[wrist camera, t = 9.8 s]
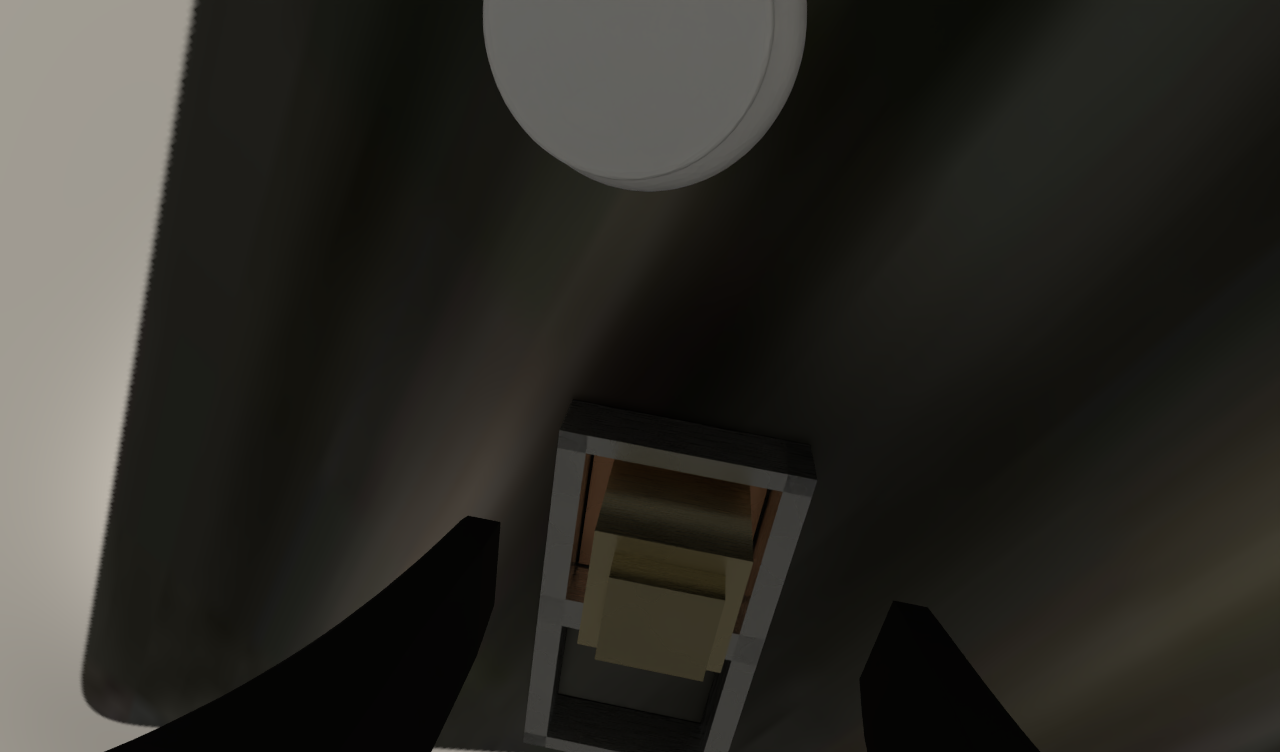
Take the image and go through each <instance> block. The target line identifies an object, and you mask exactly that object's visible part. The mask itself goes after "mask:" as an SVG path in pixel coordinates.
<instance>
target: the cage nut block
mask: <svg viewBox="0 0 1280 752" xmlns="http://www.w3.org/2000/svg"><path fill="white" fill-rule="evenodd" d="M752 565H753V541H752V518H751V496H750V485H746V484H740V483H735V482H730V481H725V480H720V479H715V478H710V477H705V476H699V475H694V474H689V473H684V472H679V471H674V470H669V469H664V468H658V467H653V466H648V465H643V464H638V463H633V462H628V461H623V460H617V459H614V462H613V466H612V470H611V473H610V477H609V481H608V484H607V488H606V492H605V495H604V499H603V503H602V506H601V510H600V513H599V517H598V521H597V524H596V528H595V533H594V539H593V545H592V552H591V558H590V565H589V571H588V578H587V584H586V591H585V597H584V604H583V610H582V617H581V623H580V630H579V636H578V643H577V644H581V645H586V646H591V647H596V648H597V649H596V655H595V659H596V660H600V661H605V662H610V663H615V664H620V665H625V666H630V667H635V668H639V669H644V670H649V671H654V672H659V673H664V674H669V675H673V676H678V677H683V678H688V679H693V680H698V681H703V679H704V675H705V671H706V670H708V671H713V672H718V673H721V670H722V667H723V663H724V660H725V657H726V653H727V650H728V646H729V643H730V640H731V636H732V633H733V630H734V626H735V623H736V619H737V616H738V613H739V609H740V606H741V602H742V599H743V596H744V592H745V589H746V586H747V582H748V579H749V575H750V572H751V569H752Z"/></svg>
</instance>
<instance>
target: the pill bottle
mask: <svg viewBox="0 0 1280 752" xmlns="http://www.w3.org/2000/svg"><path fill="white" fill-rule="evenodd" d="M806 27H807V1H806V0H484V3H483V31H484V38H485V46H486V51H487V56H488V60H489V63H490V67H491V70H492V73H493V76H494V79H495V82H496V85H497V87H498V89H499V91H500V93H501V95H502V97H503V99H504V101H505V103H506V105H507V107H508V108H509V110H510V111H511V113H512V114H513V116H514V118H515V119H516V120H517V122H518V123H519V124H520V125H521V126H522V128H523V129H524V130H525V131H526V132H527V134H528V135H529V136H530V137H531V138H532V139H533V140H534V141H535V142H536V143H537V144H538V145H540V146H541V147H542V148H543V149H544V150H546V151H547V152H548V153H550V154H551V155H552V156H554V157H555V158H557V159H558V160H560V161H562V162H563V163H565V164H567V165H568V166H569V167H571V168H572V169H574V170H576V171H577V172H579V173H581V174H583V175H585V176H587V177H589V178H590V179H593V180H595V181H598V182H600V183H603V184H606V185H609V186H612V187H616V188H621V189H626V190H631V191H645V192H654V191H665V190H672V189H677V188H682V187H686V186H690V185H693V184H695V183H698V182H701V181H703V180H706V179H708V178H710V177H712V176H714V175H716V174H718V173H720V172H721V171H723V170H725V169H726V168H728V167H729V166H731V165H732V164H734V163H735V162H736V161H738V160H739V159H740V158H741V157H743V156H744V155H745V154H746V153H748V152H749V151H750V150H751V149H752V147H753V146H754V145H755V144H756V143H757V142H758V141H759V140H760V139H761V138H762V137H763V136H764V135H765V133H766V132H767V131H768V129H769V128H770V127H771V125H772V124H773V122H774V121H775V120H776V118H777V117H778V115H779V113H780V111H781V110H782V108H783V106H784V104H785V103H786V101H787V98H788V96H789V94H790V92H791V90H792V88H793V85H794V82H795V79H796V76H797V74H798V70H799V67H800V63H801V60H802V55H803V50H804V44H805V36H806Z"/></svg>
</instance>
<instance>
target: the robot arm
mask: <svg viewBox="0 0 1280 752" xmlns="http://www.w3.org/2000/svg"><path fill="white" fill-rule="evenodd" d="M499 534H500V522H497V521H492V520H487V519H482V518H477V517H472V516H467V517H465V518H464V519H462V520H461V521H460V522H459V523H458V524H457V525H456V526H455V527H454V528H453V529H452V530H450V531H449V532H448V533H447V534H446V535H445V536H444V537H443V538H442V539H441V540H440V541H439V542H438V543H437V544H436V545H435V546H433V547H432V548H431V549H430V550H429V551H428V552H427V553H426V554H425V555H423V556H422V557H421V558H420V559H419V560H418V561H417V562H416V563H415V564H413V565H412V566H411V567H410V568H409V569H407V570H406V571H405V572H404V573H403V574H402V575H400V576H399V577H398V578H397V579H396V580H394V581H393V582H392V583H391V584H390V585H389V586H387V587H386V588H385V589H384V590H382V591H381V592H380V593H379V594H377V595H376V596H375V597H374V598H372V599H371V600H370V601H368V602H367V603H366V604H364V605H363V606H362V607H360V608H359V609H358V610H357V611H355V612H354V613H353V614H351V615H350V616H349V617H347V618H346V619H345V620H343V621H342V622H341V623H339V624H338V625H336V626H335V627H334V628H332V629H331V630H329V631H328V632H327V633H325V634H324V635H322V636H321V637H319V638H318V639H316V640H315V641H313V642H312V643H310V644H309V645H307V646H306V647H304V648H303V649H301V650H300V651H298V652H297V653H295V654H293V655H292V656H290V657H289V658H287V659H286V660H284V661H282V662H281V663H279V664H277V665H276V666H274V667H272V668H271V669H269V670H267V671H265V672H264V673H262V674H260V675H259V676H257V677H255V678H254V679H252V680H250V681H249V682H247V683H245V684H243V685H242V686H240V687H238V688H236V689H234V690H233V691H231V692H229V693H227V694H225V695H223V696H222V697H220V698H218V699H216V700H214V701H212V702H210V703H208V704H206V705H204V706H202V707H200V708H198V709H196V710H194V711H192V712H190V713H188V714H186V715H184V716H182V717H180V718H178V719H176V720H174V721H172V722H170V723H168V724H166V725H164V726H162V727H160V728H158V729H156V730H153V731H151V732H149V733H147V734H145V735H143V736H140V737H138V738H136V739H134V740H131V741H129V742H127V743H124V744H122V745H119V746H117V747H115V748H112V749H110V750H107V751H105V752H431V751H432V749H433V747H434V745H435V743H436V741H437V739H438V737H439V735H440V733H441V730H442V728H443V726H444V724H445V722H446V720H447V718H448V716H449V714H450V712H451V709H452V707H453V705H454V703H455V701H456V699H457V697H458V695H459V693H460V690H461V688H462V686H463V684H464V682H465V680H466V678H467V676H468V673H469V671H470V669H471V667H472V665H473V663H474V661H475V658H476V656H477V653H478V650H479V648H480V645H481V642H482V639H483V636H484V633H485V630H486V627H487V624H488V622H489V619H490V616H491V613H492V610H493V607H494V600H495V587H496V574H497V561H498V548H499ZM860 692H861V706H862V717H863V727H864V737H865V742H866V747H867V752H1040V751H1039V750H1038V749H1037V748H1036V746H1035V745H1034V744H1033V743H1032V742H1031V741H1030V739H1029V738H1028V737H1027V736H1026V735H1025V733H1024V732H1023V731H1022V730H1021V728H1020V727H1019V726H1018V725H1017V724H1016V722H1015V721H1014V720H1013V719H1012V717H1011V716H1010V715H1009V714H1008V712H1007V711H1006V710H1005V709H1004V707H1003V706H1002V705H1001V703H1000V702H999V701H998V700H997V698H996V697H995V696H994V695H993V693H992V692H991V691H990V689H989V688H988V687H987V685H986V684H985V683H984V682H983V680H982V679H981V678H980V676H979V675H978V674H977V672H976V671H975V670H974V668H973V667H972V666H971V664H970V663H969V662H968V660H967V659H966V658H965V656H964V655H963V654H962V652H961V651H960V650H959V648H958V647H957V646H956V644H955V643H954V642H953V640H952V639H951V638H950V636H949V635H948V634H947V632H946V631H945V630H944V628H943V627H942V626H941V624H940V623H939V622H938V620H937V619H936V618H935V616H934V615H933V614H932V612H931V611H930V610H929V609H928V607H923V606H918V605H913V604H908V603H903V602H898V601H893V603H892V605H891V607H890V610H889V612H888V614H887V617H886V619H885V621H884V624H883V626H882V628H881V631H880V633H879V635H878V638H877V640H876V642H875V644H874V647H873V649H872V651H871V654H870V656H869V658H868V661H867V663H866V665H865V668H864V670H863V672H862V675H861V677H860Z"/></svg>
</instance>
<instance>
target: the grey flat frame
mask: <svg viewBox="0 0 1280 752" xmlns="http://www.w3.org/2000/svg"><path fill="white" fill-rule="evenodd" d="M592 455H594V461H593V468H592V474H591V481H590V488H589V495H588V502H587V509H586V516H585V522H584V529H583V536H582V543H581V550H580V557H579V561H577V556H578V549H579V542H580V535H581V528H582V521H583V514H584V507H585V500H586V493H587V486H588V479H589V472H590V465H591V458H592ZM614 459H617V460H623V461H628V462H633V463H638V464H643V465H648V466H653V467H658V468H664V469H669V470H674V471H679V472H684V473H689V474H694V475H699V476H705V477H710V478H715V479H720V480H725V481H730V482H735V483H740V484H746V485H750V496H751V518H752V541H753V537H754V534H755V530H756V527H757V524H758V520H759V517H760V513H761V510H762V506H763V503H764V499H765V496H766V493H767V489H769V492H768V495H767V499H766V502H765V505H764V509H763V512H762V516H761V519H760V523H759V526H758V529H757V533H756V536H755V540H754V543H753V565H752V569H751V572H750V575H749V579H748V582H747V586H746V589H745V592H744V596H743V599H742V602H741V606H740V609H739V613H738V616H737V619H736V623H735V626H734V630H733V633H732V636H731V640H730V643H729V646H728V650H727V653H726V657H725V660H724V663H723V667H722V670H721V673H718V672H716V673H715V677H714V680H713V684H712V687H711V690H710V694H709V697H708V701H707V704H706V708H705V711H704V714H703V718H702V721H701V724H698V723H693V722H688V721H683V720H678V719H674V718H669V717H664V716H659V715H654V714H650V713H645V712H640V711H635V710H630V709H626V708H621V707H616V706H611V705H606V704H602V703H597V702H592V701H587V700H582V699H578V698H573V697H568V696H563V695H558V687H559V681H560V674H561V667H562V660H563V653H564V646H565V639H566V632H567V627H570V628H575V629H579V630H580V623H581V617H582V610H583V604H584V597H585V591H586V584H587V578H588V571H589V565H590V558H591V552H592V545H593V539H594V533H595V528H596V524H597V521H598V517H599V513H600V510H601V506H602V503H603V499H604V495H605V492H606V488H607V484H608V481H609V477H610V473H611V470H612V466H613V462H614ZM816 483H817V475H816V470H815V465H814V460H813V455H812V450H811V445H806V444H800V443H795V442H790V441H785V440H780V439H774V438H769V437H764V436H759V435H754V434H748V433H743V432H738V431H733V430H728V429H722V428H717V427H712V426H707V425H702V424H696V423H691V422H686V421H681V420H676V419H670V418H665V417H660V416H655V415H650V414H644V413H639V412H634V411H629V410H624V409H618V408H613V407H608V406H603V405H598V404H592V403H587V402H582V401H577V400H572V403H571V405H570V407H569V410H568V412H567V414H566V416H565V419H564V421H563V423H562V426H561V428H560V430H559V439H558V448H557V456H556V465H555V474H554V482H553V491H552V499H551V508H550V517H549V525H548V534H547V542H546V551H545V560H544V568H543V577H542V585H541V594H540V603H539V611H538V620H537V629H536V637H535V646H534V654H533V663H532V672H531V680H530V689H529V697H528V706H527V715H526V723H525V732H524V740H523V742H524V743H528V744H533V745H538V746H543V747H547V748H552V749H557V750H562V751H566V752H728V751H729V748H730V745H731V742H732V739H733V736H734V733H735V730H736V727H737V723H738V720H739V717H740V714H741V711H742V708H743V705H744V702H745V699H746V696H747V693H748V690H749V687H750V684H751V681H752V678H753V675H754V672H755V669H756V666H757V663H758V660H759V657H760V654H761V650H762V647H763V644H764V641H765V638H766V635H767V632H768V629H769V626H770V623H771V620H772V617H773V614H774V611H775V608H776V605H777V602H778V599H779V596H780V593H781V590H782V587H783V584H784V581H785V577H786V574H787V571H788V568H789V565H790V562H791V559H792V556H793V553H794V550H795V547H796V544H797V541H798V538H799V535H800V532H801V529H802V526H803V523H804V520H805V517H806V514H807V511H808V507H809V504H810V501H811V498H812V495H813V492H814V489H815V486H816Z"/></svg>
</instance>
